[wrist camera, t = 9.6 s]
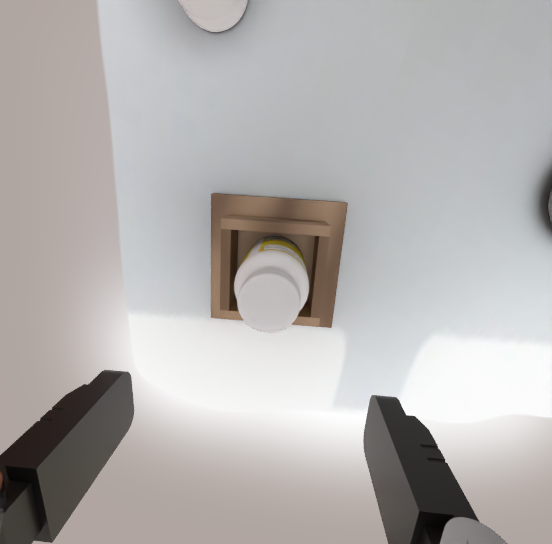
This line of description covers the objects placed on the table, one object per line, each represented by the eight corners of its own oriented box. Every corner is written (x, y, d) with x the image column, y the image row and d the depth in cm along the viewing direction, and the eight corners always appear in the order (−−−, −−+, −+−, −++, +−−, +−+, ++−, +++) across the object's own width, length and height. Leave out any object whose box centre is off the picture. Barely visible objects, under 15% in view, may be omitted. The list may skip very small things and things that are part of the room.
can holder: (345, 202, 27) (355, 205, 23) (329, 322, 30) (336, 346, 26) (214, 193, 27) (199, 194, 23) (213, 312, 31) (200, 334, 26)
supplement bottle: (264, 299, 29) (250, 355, 19) (236, 251, 28) (207, 285, 18) (314, 275, 28) (326, 322, 19) (288, 224, 27) (286, 245, 17)
